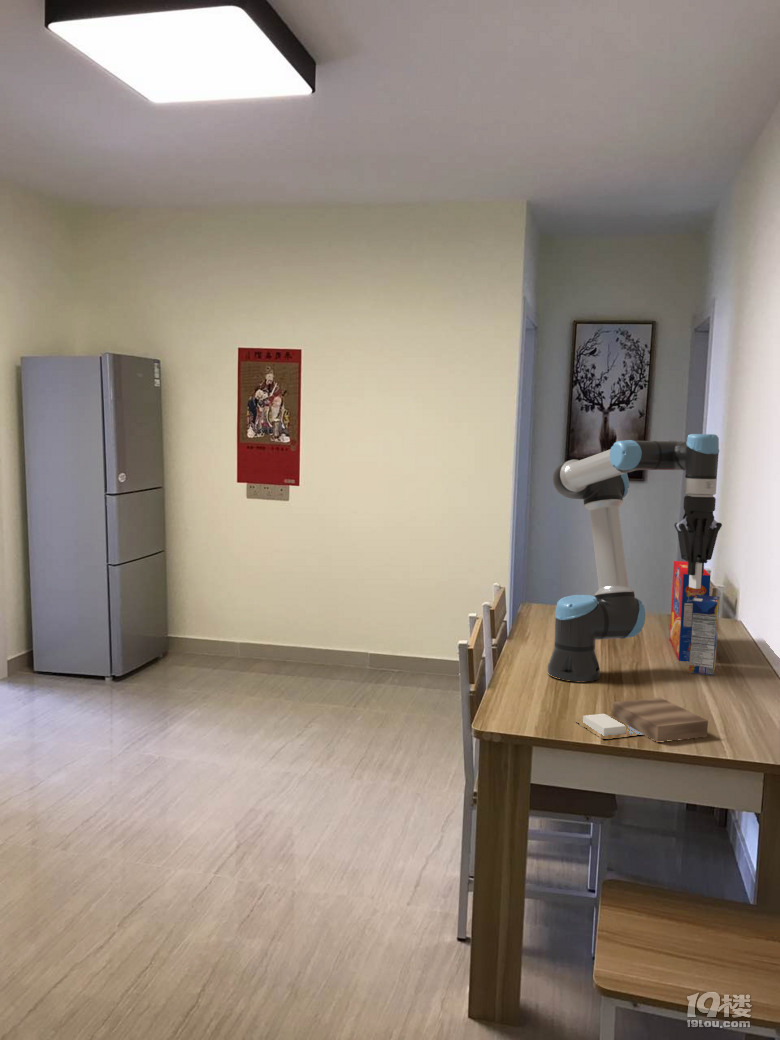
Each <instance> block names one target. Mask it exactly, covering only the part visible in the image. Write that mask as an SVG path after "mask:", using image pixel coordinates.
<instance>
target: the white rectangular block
mask: <svg viewBox="0 0 780 1040" xmlns="http://www.w3.org/2000/svg"><path fill="white" fill-rule="evenodd" d="M611 717H612V716H609V715H607V714H605V713H598V714H587V715H586V714H585V715H582V720H583V723H585V724H586V725H588V726H589V727H591V728H592V729H594V730H595V731H597V732H598V733H600V734H602V735H603V736H608V735H618V734H619V735H620V734H626V726H625V725H624V724H622V723H620V722H618V721H617V720H615V719H613V718H611Z"/></svg>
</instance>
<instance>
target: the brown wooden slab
mask: <svg viewBox="0 0 780 1040" xmlns="http://www.w3.org/2000/svg"><path fill="white" fill-rule="evenodd" d="M612 716H614V717H615V718H617V719H619V720H620V721H622V722H624V723H625V724H627V725H628V726H630V727H632V728H634V729H635V730H637V731H639V732H641V733H642V734H644V735H646V736H648V737H650V738H652V739H654V740H655V741H667V740H678V739H687V740H689V739H688V738H695V739H699V738H698V737H703V738H707V737H708V725H709V720H708V719H706V718H703V717H701V716H700V715H697V714H695V713H693V712H690V711H689V710H687V709H684V708H683V707H681V706H680V705H679V706H678V705H677V704H675V703H672V702H670V701H668V700H666V699H665V698H662V697H660V696H659V697H650V698H649V697H648V698H641V699H630V700H622V701H613V702H612Z"/></svg>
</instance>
